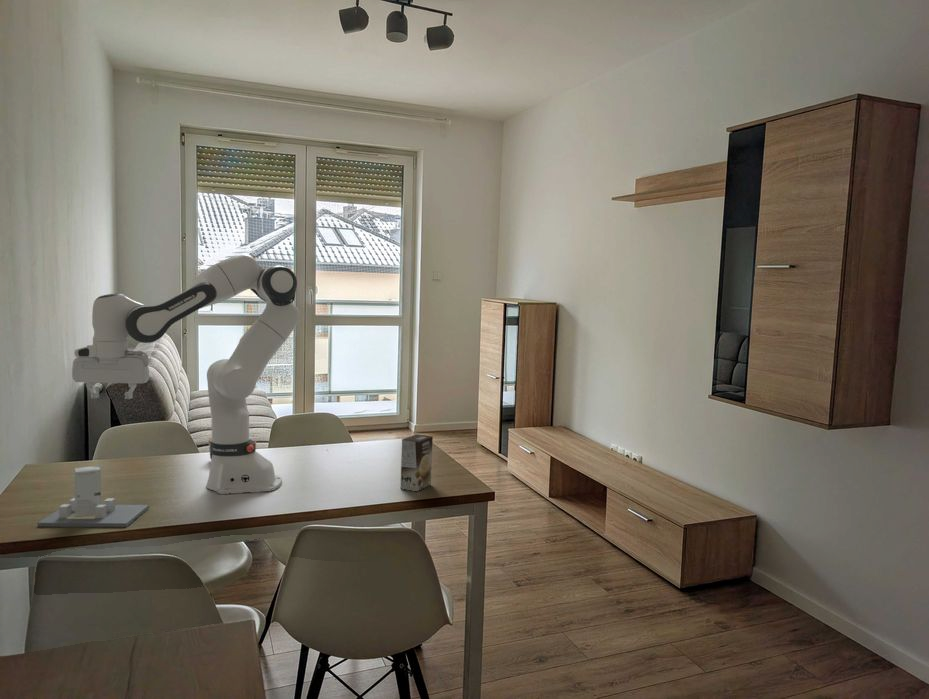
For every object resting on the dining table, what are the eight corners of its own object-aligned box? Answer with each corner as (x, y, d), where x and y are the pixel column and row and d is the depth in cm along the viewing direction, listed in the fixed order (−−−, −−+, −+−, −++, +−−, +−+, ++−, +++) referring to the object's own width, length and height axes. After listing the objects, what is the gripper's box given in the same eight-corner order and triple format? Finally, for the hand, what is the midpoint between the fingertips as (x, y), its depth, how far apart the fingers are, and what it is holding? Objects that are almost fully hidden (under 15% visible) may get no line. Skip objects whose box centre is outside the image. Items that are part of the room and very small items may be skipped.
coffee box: (417, 492, 204) (418, 441, 202) (399, 489, 207) (401, 439, 205) (431, 484, 212) (433, 436, 210) (414, 481, 215) (415, 433, 213)
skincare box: (75, 517, 171) (73, 472, 170) (74, 512, 175) (73, 467, 174) (102, 513, 174) (100, 469, 173) (101, 508, 178) (99, 465, 177)
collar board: (149, 508, 183) (148, 494, 182) (126, 527, 169) (126, 512, 168) (67, 507, 181) (66, 493, 181) (37, 526, 167) (37, 511, 167)
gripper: (152, 350, 191) (153, 396, 192) (80, 348, 190) (81, 395, 191) (143, 352, 185) (144, 400, 186) (68, 350, 183) (69, 399, 185)
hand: (111, 398), depth 189 cm, fingers open, 8 cm apart
